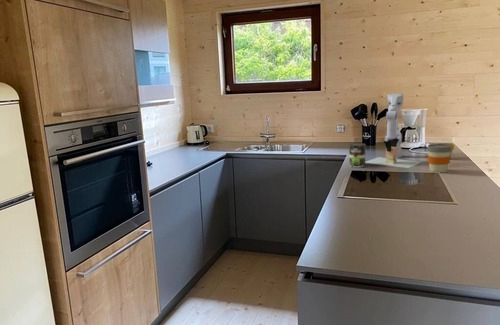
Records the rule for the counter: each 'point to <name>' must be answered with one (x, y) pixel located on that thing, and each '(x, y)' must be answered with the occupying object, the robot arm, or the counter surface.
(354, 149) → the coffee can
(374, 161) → the pale blue flat sheet
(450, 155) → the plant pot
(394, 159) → the maple block
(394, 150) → the terracotta block
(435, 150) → the reusable coffee cup
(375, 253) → the counter surface
